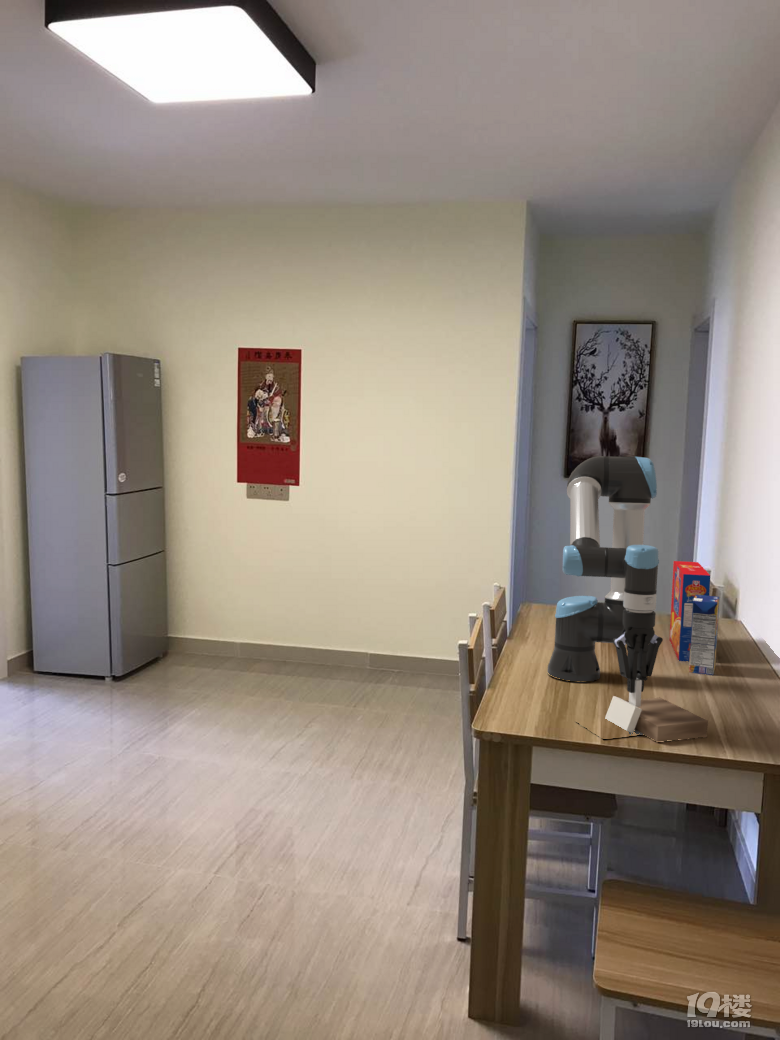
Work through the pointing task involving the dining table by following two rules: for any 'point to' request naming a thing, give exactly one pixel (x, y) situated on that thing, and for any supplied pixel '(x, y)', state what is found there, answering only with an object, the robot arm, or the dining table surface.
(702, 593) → the red blue cereal box
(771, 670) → the dining table surface
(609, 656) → the dining table surface
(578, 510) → the robot arm
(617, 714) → the white rectangular block
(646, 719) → the brown wooden slab
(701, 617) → the beverage box
